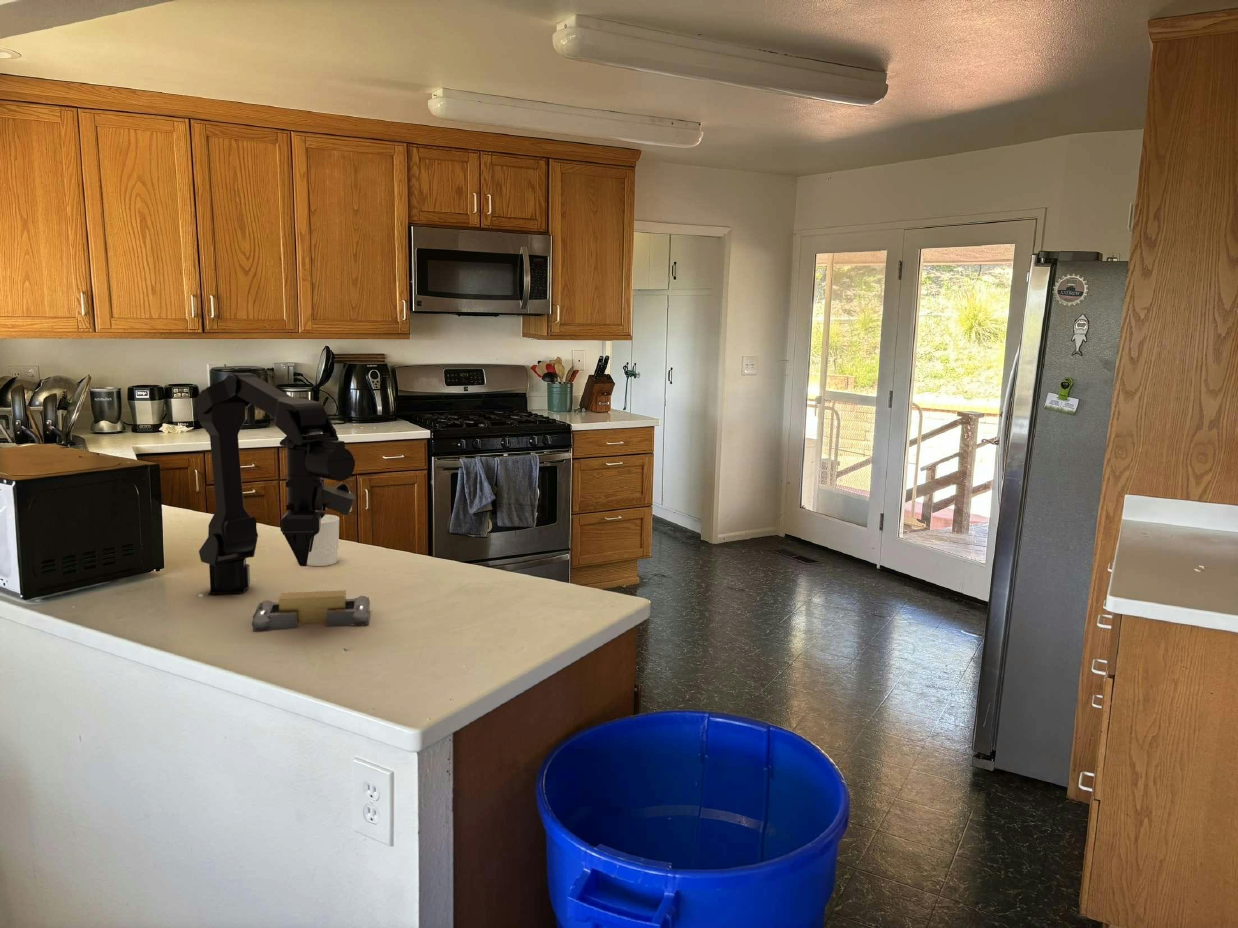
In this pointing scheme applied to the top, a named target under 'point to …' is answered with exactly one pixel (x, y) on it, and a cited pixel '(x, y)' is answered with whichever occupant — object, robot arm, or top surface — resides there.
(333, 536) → the white cup
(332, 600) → the gold ingot
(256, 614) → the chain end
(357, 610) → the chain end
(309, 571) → the top surface
